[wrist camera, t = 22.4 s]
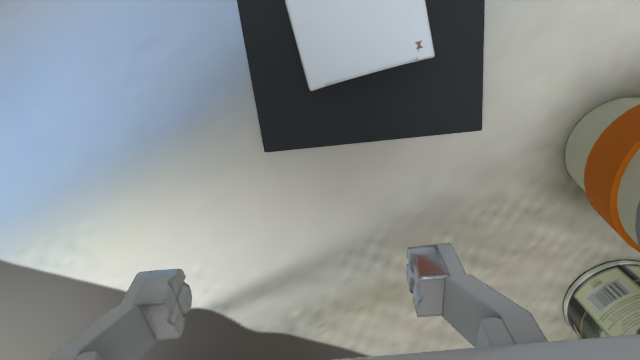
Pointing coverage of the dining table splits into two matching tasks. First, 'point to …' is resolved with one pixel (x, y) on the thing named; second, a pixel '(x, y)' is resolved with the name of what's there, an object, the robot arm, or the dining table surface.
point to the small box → (358, 37)
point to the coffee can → (605, 301)
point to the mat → (366, 83)
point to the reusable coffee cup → (610, 164)
